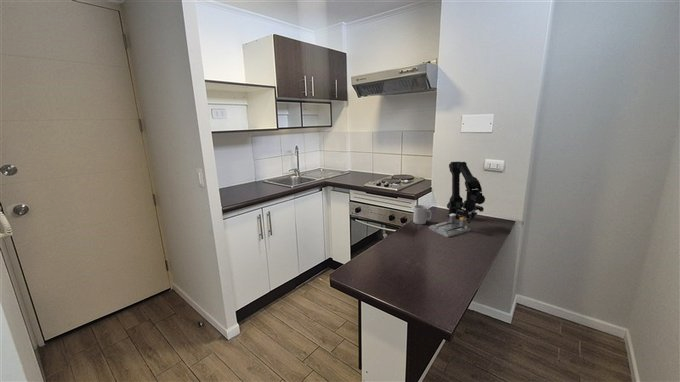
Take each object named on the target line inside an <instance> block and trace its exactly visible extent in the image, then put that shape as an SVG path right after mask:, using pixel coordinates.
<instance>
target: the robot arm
mask: <svg viewBox="0 0 680 382" xmlns="http://www.w3.org/2000/svg"><path fill="white" fill-rule="evenodd" d="M467 163H468V162H466V161H451V162H450V163H449V164H448V168H449V172H450V173H451V192H452V193H451V196H450V197H449V202H448V203H447V204H446V208H447V209H448V214H447V215H446V217H450V216H449V214H456V217H455V219H458V218H459V219H460V218H461V216H462V217H465V218H467V219H466V223H468V224H471V222H472V221H473V219H474V218H475V217H476V216H477V215H478V212H477V211H479V213H482V212H484V210H485V209H484V207H483V206H481V205H482V204H484V203H485V202H486V197H485V195H483V189H482V186H481V182H480V180H479V179H477V177H476V176H474V175H473V174H472V172H471V170H470V169H469V167H468V165H467ZM461 176H462V177H463V179H464V186H465V188H466V189H465V192H466V198H465V200H464V199H463V197H462V196H461V195H460V191H461V190H460V189H461V188H460V184H461V183H460V177H461Z"/></svg>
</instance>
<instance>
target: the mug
mask: <svg viewBox="0 0 680 382" xmlns="http://www.w3.org/2000/svg"><path fill="white" fill-rule="evenodd" d="M427 213H429V217H427ZM432 216H433V214H432V210H430V209H428V208H427V206H426V205H422V204H420V205H419V204H417V205H414V206H413V216H412V217H413V219H412V221H413V223H414V224H417V225H425V224H427V221H429V220H431V219H432Z"/></svg>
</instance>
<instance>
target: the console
mask: <svg viewBox="0 0 680 382" xmlns="http://www.w3.org/2000/svg"><path fill="white" fill-rule="evenodd" d="M459 224H460V222H456V221H455V222H454V223H450V222H449V220H448V221H444V222H443V221H442V222H439V223H437V224H432V225H429V226H428V230H429V231H433V232H434V233H437V234H439V235H441V236H444V237H446V238H449V237H453V236H457V235H459V234H463V233H466V232H467V233H468V232H469V231H471V227H469V226H468V225H466V226H464V227H461V226H459Z"/></svg>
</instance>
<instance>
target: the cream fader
mask: <svg viewBox="0 0 680 382" xmlns="http://www.w3.org/2000/svg"><path fill="white" fill-rule="evenodd" d="M448 215H449V216H450V217H449V220H448V221H449V222H450V223H454V222H456V218H455V217H456V214H449V213H448Z"/></svg>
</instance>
